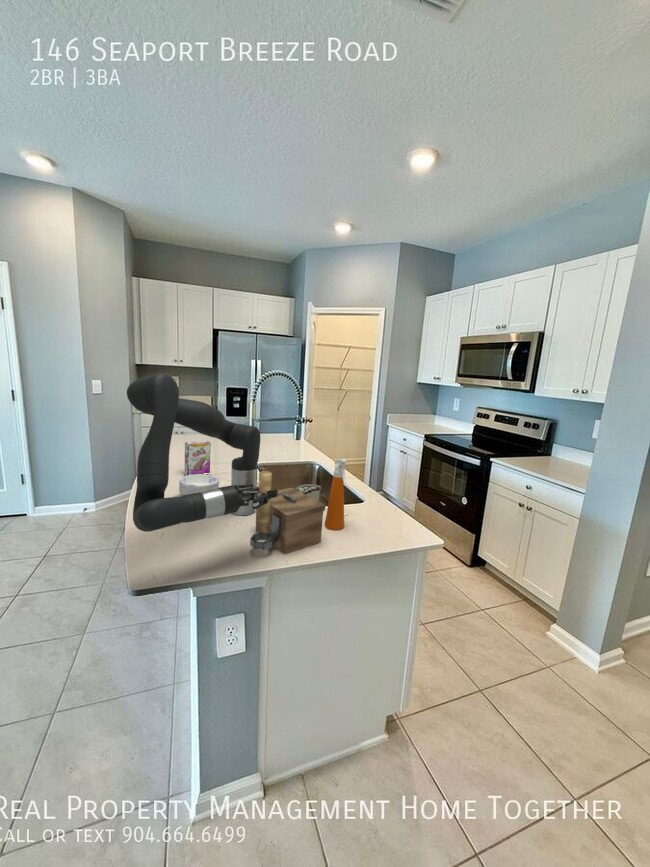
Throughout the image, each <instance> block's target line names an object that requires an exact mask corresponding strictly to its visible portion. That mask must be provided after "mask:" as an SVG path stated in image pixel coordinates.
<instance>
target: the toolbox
mask: <svg viewBox="0 0 650 867" xmlns="http://www.w3.org/2000/svg"><path fill="white" fill-rule="evenodd" d="M277 490H278V489H277ZM324 512H326V505H325V504H323V503H322V502H320V501H319V502H318V501H316V500H314V499H312V498H310V497H309V496H307V495H305V494H303V493H301V492H299V491H297V490H296V489H295V488H293V487H289V488H283V489H279V490H278V496H277V497H274V498H271V504H270V525H269V526H267V527H260V526H258V508H257V509H255V532H256V533H269V534H272V533H273V532H272V514H276V515H277V516H279V517H280V518H281V530H280V537H278V541H277V542H274V544H273V546H274V547H275V548H277V549H278V551H280V552H281V553H282V554H284V555H286V554H290V553H293V552H296V551H298V550H302V549H304V548H307V547H311V546H314V545H316V544H319V543H321V542H322V531H323V519H324V518H323V516H324Z"/></svg>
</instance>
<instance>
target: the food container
mask: <svg viewBox="0 0 650 867" xmlns="http://www.w3.org/2000/svg"><path fill="white" fill-rule="evenodd" d="M295 490H297V491H299V492H301V493H303V494H305V495H307V496H309V497H310V498H312V499H314V500H316V501H318V502H320V501H319V500H320V494H321V491H322V486H321V485H318V484H311V483H308V484H306V483H305V484H301V485H297V487H296V489H295Z"/></svg>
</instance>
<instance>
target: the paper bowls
mask: <svg viewBox="0 0 650 867" xmlns="http://www.w3.org/2000/svg"><path fill="white" fill-rule="evenodd" d="M178 482H179V483H178V484H179V486H178V487H179V488H178V490H179V493H180V495H181V496H183V495H187V494H192V493H198V492H202V491H205V490H209V489H214V488H220V479H219V478H218V477H217V476H215V475H212V474H208V475H206V474H195V475H188V476H186V475H185V476H183V477H180V479H179V481H178Z"/></svg>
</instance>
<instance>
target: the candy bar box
mask: <svg viewBox="0 0 650 867" xmlns="http://www.w3.org/2000/svg"><path fill="white" fill-rule="evenodd" d="M211 446H212V445H211V442H210V441H209V440H200V441H199V440H196V441H185V442H184V473H185V474H186V475H187V476H188V475H195V474H204V473H211ZM185 474H184V475H185ZM186 475H185V476H186Z"/></svg>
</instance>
